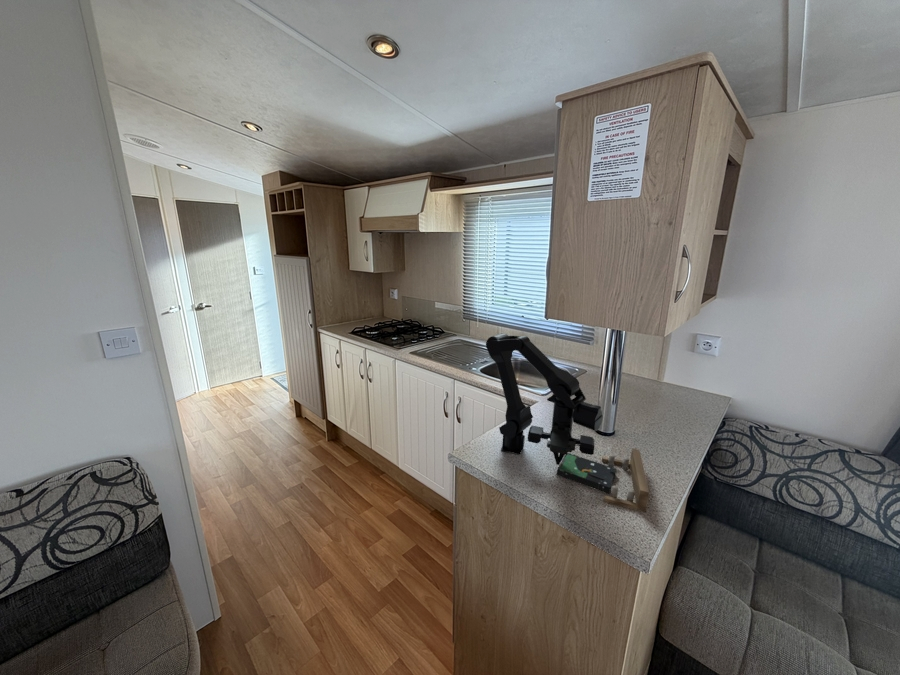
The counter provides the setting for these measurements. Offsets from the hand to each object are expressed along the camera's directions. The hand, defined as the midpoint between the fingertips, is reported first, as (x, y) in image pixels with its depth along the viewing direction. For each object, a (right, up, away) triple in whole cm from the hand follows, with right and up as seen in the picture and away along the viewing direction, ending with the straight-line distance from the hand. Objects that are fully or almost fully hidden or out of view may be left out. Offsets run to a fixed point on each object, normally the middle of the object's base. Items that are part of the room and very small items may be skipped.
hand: (557, 464), depth 107 cm
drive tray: (+17, -3, -6) cm, 18 cm away
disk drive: (+8, -3, -2) cm, 9 cm away
